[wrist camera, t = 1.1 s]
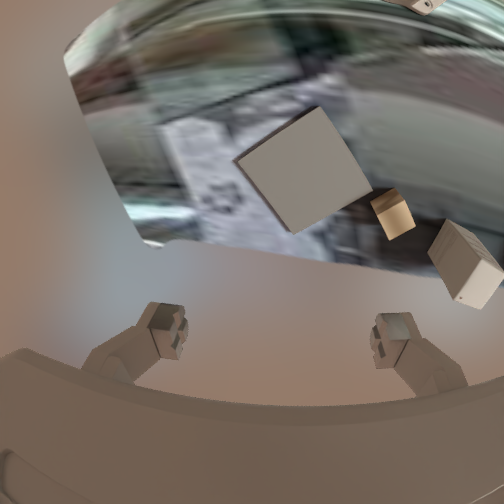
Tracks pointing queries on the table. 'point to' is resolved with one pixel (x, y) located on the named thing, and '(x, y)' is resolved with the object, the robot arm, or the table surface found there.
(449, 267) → the supplement box
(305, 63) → the table surface
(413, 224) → the birch block
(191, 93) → the table surface
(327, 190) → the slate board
